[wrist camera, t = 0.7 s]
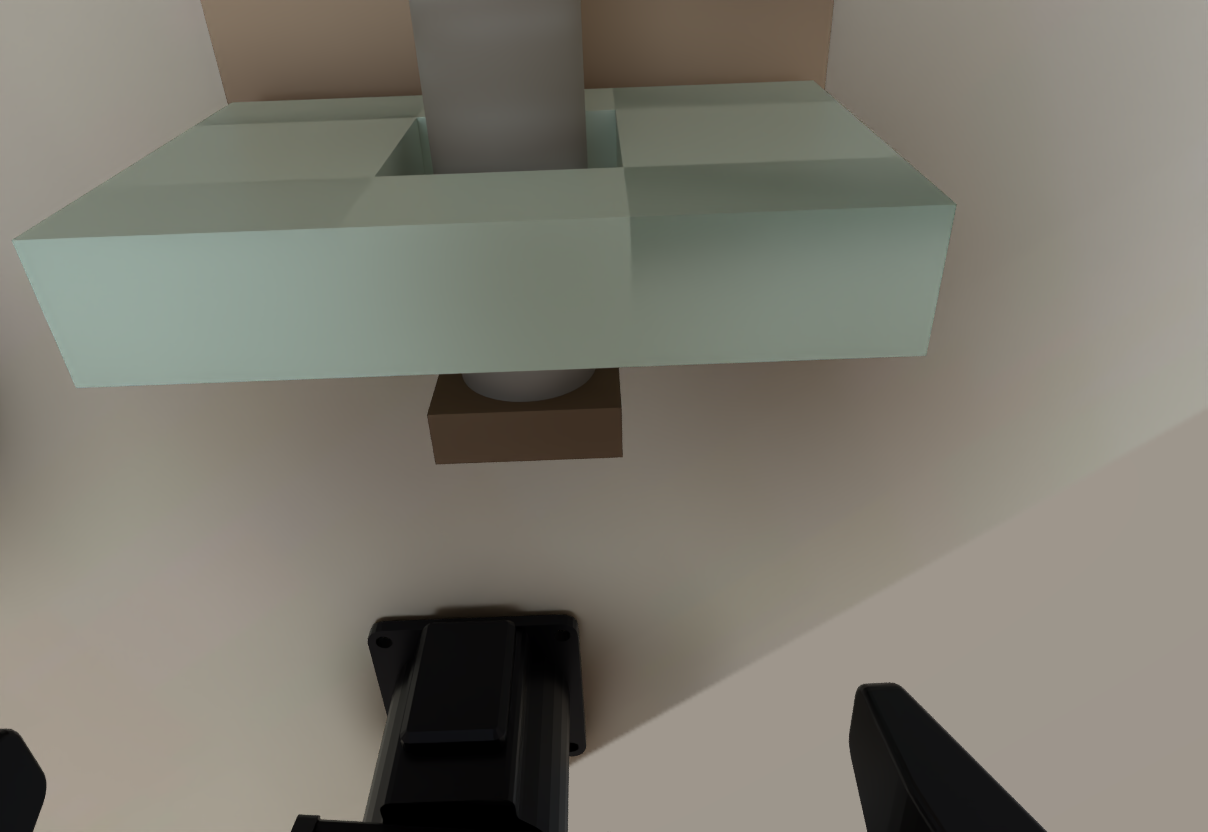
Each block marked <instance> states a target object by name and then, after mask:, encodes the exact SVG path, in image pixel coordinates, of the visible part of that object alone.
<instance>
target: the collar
mask: <svg viewBox="0 0 1208 832" xmlns="http://www.w3.org/2000/svg"><path fill="white" fill-rule="evenodd" d="M584 93H585V116H586V139H587V163H588V169H564V170H538V171H512V172H485V173H459V174H433V167H432V160H431V153H430V146H429V139H428V132H427V125H426V118H425V111H424V104H423V97H422V95H415V96H389V97H362V98H336V99H310V100H284V101H257V102H232V103H230V104H229V105H227V106H226V107H224V108H222V109H221V110H219V111H218V112H216V113H214V114H213V115H211V116H210V117H208V118H206V119H205V120H203V121H202V122H200V123H198V124H197V125H195V126H194V127H192V128H190V129H189V130H187V131H186V132H184V133H182V134H181V135H179V136H178V137H176V138H174V139H173V140H171V141H170V142H168V143H166V144H165V145H163V146H162V147H160V148H158V149H157V150H155V151H154V152H152V153H150V154H149V155H147V156H146V157H144V158H142V159H141V160H139V161H138V162H136V163H134V164H133V165H131V166H130V167H128V168H126V169H125V170H123V171H122V172H120V173H118V174H117V175H115V176H114V177H112V178H110V179H109V180H107V181H106V182H104V183H102V184H101V185H99V186H98V187H96V188H94V189H93V190H91V191H90V192H88V193H86V194H85V195H83V196H82V197H80V198H78V199H77V200H75V201H74V202H72V203H70V204H69V205H67V206H66V207H64V208H62V209H61V210H59V211H58V212H56V213H55V214H53V215H51V216H50V217H48V218H47V219H45V220H43V221H42V222H40V223H39V224H37V225H35V226H34V227H32V228H31V229H29V230H27V231H26V232H24V233H23V234H21V235H19V236H18V237H16V238H15V239H13V240H12V242H13V245H14V247H15V249H16V251H17V254H18V256H19V258H20V261H21V263H22V265H23V267H24V270H25V272H26V274H27V277H28V279H29V281H30V284H31V286H32V288H33V290H34V293H35V295H36V297H37V300H38V302H39V304H40V306H41V309H42V311H43V313H44V316H45V318H46V320H47V323H48V325H49V327H50V329H51V332H52V334H53V336H54V339H55V341H56V343H57V345H58V348H59V350H60V352H61V355H62V357H63V359H64V361H65V364H66V366H67V368H68V371H69V373H70V375H71V378H72V380H73V382H74V384H75V387H76V388H89V387H115V386H142V385H168V384H194V383H221V382H247V381H274V380H300V379H326V378H353V377H379V376H406V375H432V374H459V373H485V372H511V371H538V370H564V369H591V368H617V367H643V366H670V365H696V364H723V363H749V362H775V361H802V360H828V359H855V358H881V357H907V356H926V354H927V349H928V344H929V339H930V334H931V329H932V324H933V319H934V314H935V309H936V304H937V299H938V294H939V289H940V284H941V279H942V274H943V270H944V265H945V260H946V255H947V250H948V245H949V240H950V235H951V230H952V225H953V220H954V215H955V210H956V205H957V204H956V203H954V202H953V201H952V200H951V199H950V198H949V197H947V196H946V195H945V194H944V193H943V192H942V191H940V190H939V189H938V188H937V187H936V186H935V185H934V184H932V183H931V182H930V181H929V180H928V179H927V178H925V177H924V176H923V175H922V174H921V173H920V172H919V171H917V170H916V169H915V168H914V167H913V166H912V165H910V164H909V163H908V162H907V161H906V160H905V159H904V158H902V157H901V156H900V155H899V154H898V153H897V152H895V151H894V150H893V149H892V148H891V147H890V146H889V145H887V144H886V143H885V142H884V141H883V140H882V139H880V138H879V137H878V136H877V135H876V134H875V133H873V132H872V131H871V130H870V129H869V128H868V127H867V126H865V125H864V124H863V123H862V122H861V121H860V120H858V119H857V118H856V117H855V116H854V115H853V114H852V113H850V112H849V111H848V110H847V109H846V108H845V107H843V106H842V105H841V104H840V103H839V102H838V101H837V100H835V99H834V98H833V97H832V96H831V95H830V94H828V93H827V92H826V91H825V90H824V89H823V88H822V87H820V86H819V85H818V84H817V83H816V82H815V81H813V80H809V81H783V82H757V83H730V84H704V85H678V86H652V87H625V88H599V89H584Z"/></svg>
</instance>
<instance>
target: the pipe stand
mask: <svg viewBox="0 0 1208 832" xmlns="http://www.w3.org/2000/svg"><path fill="white" fill-rule="evenodd" d="M201 4H202V8H203V12H204V16H205V19H206V23H207V27H208V31H209V34H210V38H211V42H212V46H213V50H214V53H215V57H216V61H217V65H218V68H219V72H220V76H221V80H222V84H223V87H224V91H225V95H226V99H227V102H228V105H229V104H230V103H232V102H257V101H284V100H310V99H336V98H362V97H389V96H415V95H422V97H423V104H424V111H425V118H426V125H427V132H428V139H429V146H430V153H431V160H432V167H433V174H459V173H485V172H512V171H538V170H564V169H588V163H587V139H586V116H585V93H584V89H599V88H625V87H652V86H678V85H704V84H730V83H757V82H783V81H809V80H813V81H815V82H816V83H817V84H818V85H819V86H820V87H822V88H823V89H824V90H825V81H826V71H827V62H828V52H829V43H830V33H831V24H832V14H833V5H834V0H201ZM427 417H428V423H429V429H430V435H431V440H432V446H433V452H434V458H435V463H436V464H457V463H483V462H510V461H536V460H563V459H589V458H615V457H623V450H622V409H621V394H620V380H619V367H617V368H591V369H564V370H538V371H511V372H485V373H459V374H439V376H438V380H437V383H436V387H435V390H434V393H433V397H432V400H431V404H430V407H429V410H428V414H427Z"/></svg>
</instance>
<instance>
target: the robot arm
mask: <svg viewBox="0 0 1208 832" xmlns="http://www.w3.org/2000/svg"><path fill="white" fill-rule="evenodd" d="M558 630H566V631H564V632H561V631H558ZM383 637H387V638H383ZM368 646H369V649H370V653H371V657H372V661H373V664H374V668H375V672H376V676H377V679H378V683H379V687H380V691H381V694H382V698H383V702H384V706H385V709H386V713H387V721H386V725H385V729H384V734H383V738H382V742H381V746H380V751H379V755H378V759H377V763H376V768H375V772H374V776H373V780H372V785H371V789H370V793H369V797H368V801H367V806H366V810H365V814H364V818H363V822H357V821H340V820H322V819H320V816H318V815H300V814H299V815H298V816H297V819H296V821H295V823H294V826H293V828H292V830H291V832H568V785H569V784H568V783H569V756H577V755H580V754H582V753H583V752H584V751H585V749H586V730H585V715H584V701H583V686H582V672H581V657H580V643H579V628H578V623H577V621H576V620H575V619H574V618H573V617H571V616H568V615H537V616H511V617H484V618H458V619H431V620H405V621H383V622H378V623H376V624H374V625H373V626H372V628H371V630H370V633H369V637H368ZM849 747H850V754H851V760H852V764H853V769H854V773H855V778H856V782H857V787H858V792H859V796H860V801H861V805H862V810H863V814H864V819H865V823H866V827H867V832H1047V831H1046V830H1045V829H1043V827H1042V826H1041V825H1040V824H1039V823H1038V822H1037V821H1036V820H1035V819H1034V818H1033V817H1032V816H1031V815H1030V814H1029V813H1028V812H1027V811H1026V810H1025V809H1024V808H1023V807H1022V806H1021V805H1020V804H1019V803H1018V802H1017V801H1016V800H1015V799H1014V798H1013V797H1012V796H1011V795H1010V794H1009V793H1007V791H1006V790H1004V788H1003V787H1002V786H1001V785H1000V784H999V783H998V782H997V781H996V780H995V779H994V778H993V777H992V776H991V775H990V774H989V773H988V772H987V771H986V770H985V769H984V768H983V767H982V766H981V765H980V764H979V763H978V762H977V761H975V759H974V758H973V757H972V756H971V755H970V754H969V753H968V752H967V751H966V750H965V749H964V748H962V746H961V745H960V744H959V743H958V742H956V740H955V739H954V738H953V737H951V735H950V734H948V732H947V731H946V730H945V729H944V728H943V727H942V726H941V725H940V724H939V723H938V722H936V720H935V719H934V718H932V716H931V715H930V714H929V713H927V711H926V710H925V709H924V708H923V707H922V706H921V705H919V703H917V701H916V700H915V699H914V698H913V697H912V696H911V695H909V693H907V691H906V690H905V689H903V688H902V687H901V686H900V685H898V684H895V683H890V682H889V683H870V684H863V685H860V686H859V687H858V689H857V691H856V694H855V700H854V707H853V713H852V720H851V726H850V733H849ZM45 794H46V778H45V775H44V772H43V771H42V769H41V767H40V766H39V764H38V763H37V761H36V759H35V758H34V756H33V755H32V753H31V751H30V750H29V748H28V747H27V745H26V743H25V742H24V740H23V739H22V737H21V736H20V735H19V733H18V732H16V731H14V730H12V729H0V832H33V830H34V827H35V824H36V822H37V819H38V816H39V813H40V810H41V808H42V805H43V802H44V799H45Z"/></svg>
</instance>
